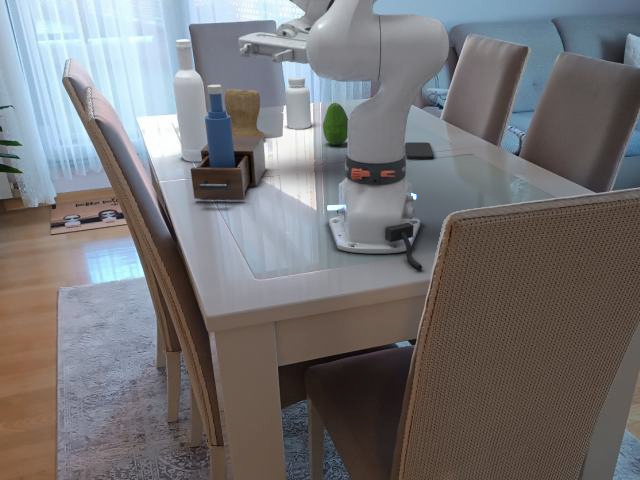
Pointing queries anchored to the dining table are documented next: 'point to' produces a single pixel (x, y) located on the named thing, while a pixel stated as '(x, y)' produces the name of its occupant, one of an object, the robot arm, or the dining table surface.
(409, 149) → the phone
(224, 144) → the bottle
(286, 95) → the pill bottle
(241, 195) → the drawer
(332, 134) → the avocado
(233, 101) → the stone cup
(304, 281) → the dining table surface
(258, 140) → the cabinet
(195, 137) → the bottle
